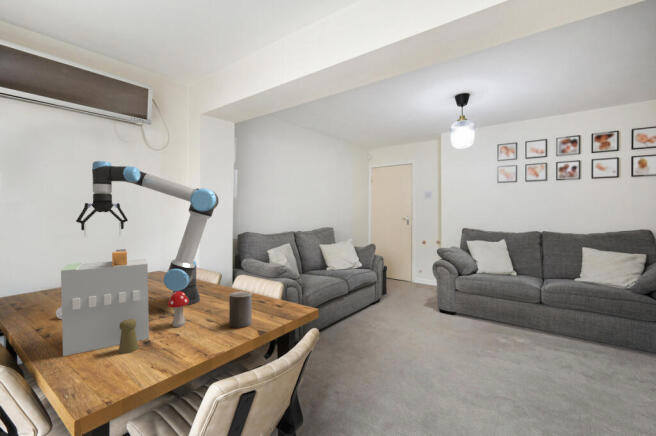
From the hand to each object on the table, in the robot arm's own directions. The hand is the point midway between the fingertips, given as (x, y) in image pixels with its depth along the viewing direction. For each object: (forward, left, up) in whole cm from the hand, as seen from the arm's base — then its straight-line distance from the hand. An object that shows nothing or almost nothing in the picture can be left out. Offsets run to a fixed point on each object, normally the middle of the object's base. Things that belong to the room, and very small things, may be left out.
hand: (103, 236), depth 148 cm
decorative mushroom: (-39, +24, -39) cm, 60 cm away
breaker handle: (-18, +28, -8) cm, 34 cm away
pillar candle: (-66, +30, -39) cm, 82 cm away
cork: (-27, +46, -39) cm, 66 cm away
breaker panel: (-16, +34, -39) cm, 54 cm away
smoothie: (+17, -7, -36) cm, 40 cm away
